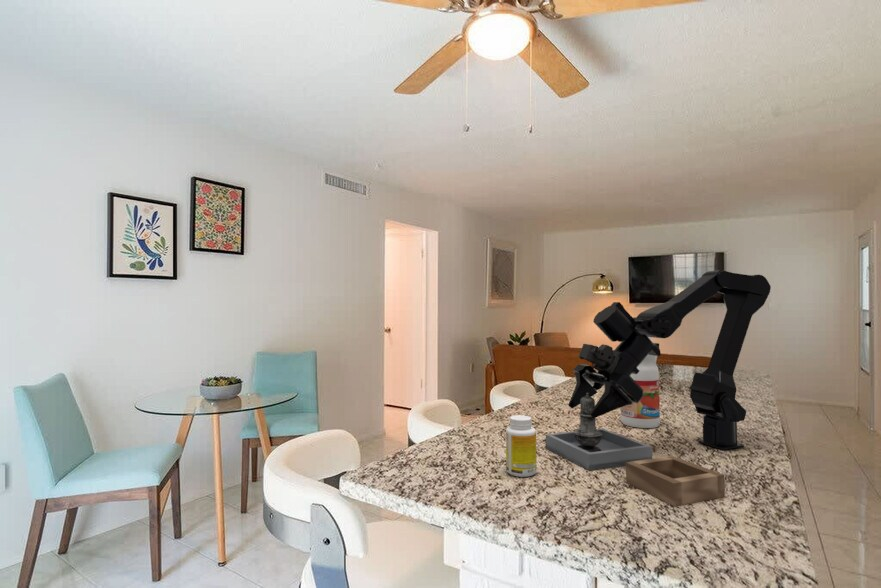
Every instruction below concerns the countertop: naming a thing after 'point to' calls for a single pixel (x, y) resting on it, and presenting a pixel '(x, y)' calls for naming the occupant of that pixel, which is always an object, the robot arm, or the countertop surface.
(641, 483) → the walnut collar
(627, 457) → the charcoal tray
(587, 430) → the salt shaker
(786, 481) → the countertop surface
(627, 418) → the fruit juice
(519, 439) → the supplement bottle
